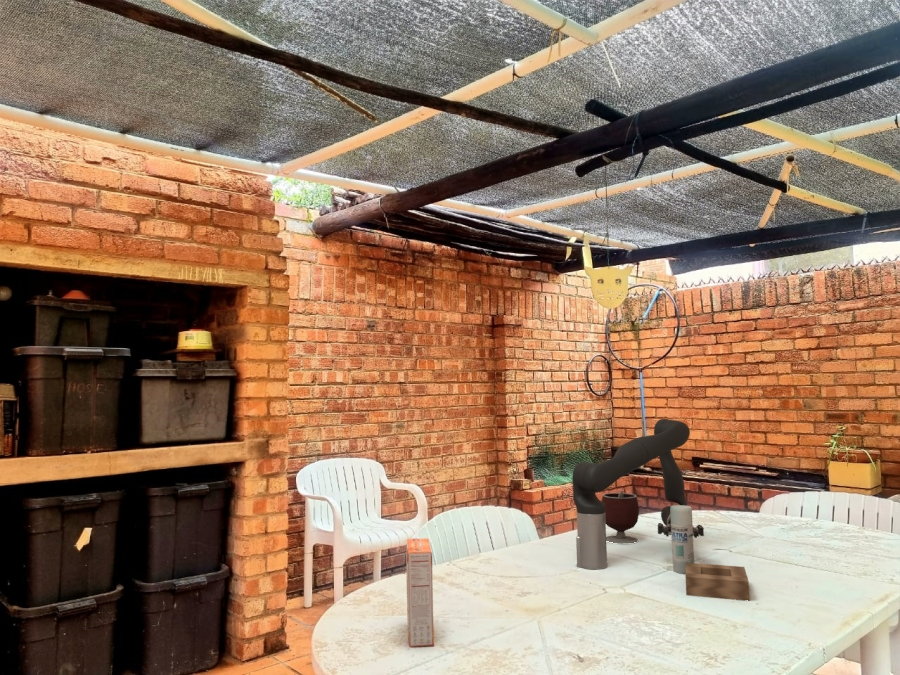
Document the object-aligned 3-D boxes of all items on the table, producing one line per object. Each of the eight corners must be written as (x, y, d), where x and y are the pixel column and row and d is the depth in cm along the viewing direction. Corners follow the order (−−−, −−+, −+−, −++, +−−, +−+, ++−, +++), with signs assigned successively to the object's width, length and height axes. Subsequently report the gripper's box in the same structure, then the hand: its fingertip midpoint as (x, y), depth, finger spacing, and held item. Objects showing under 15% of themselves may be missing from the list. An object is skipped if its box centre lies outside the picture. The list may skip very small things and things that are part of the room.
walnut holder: (686, 595, 177) (685, 576, 178) (686, 579, 192) (686, 562, 193) (749, 600, 172) (748, 581, 172) (745, 584, 187) (744, 566, 187)
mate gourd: (600, 536, 253) (599, 485, 255) (637, 537, 251) (635, 485, 253) (604, 545, 238) (602, 490, 240) (643, 546, 236) (641, 491, 238)
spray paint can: (669, 572, 201) (666, 507, 203) (678, 567, 206) (675, 504, 208) (689, 575, 196) (686, 509, 198) (698, 571, 201) (695, 506, 203)
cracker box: (406, 625, 156) (405, 538, 158) (430, 624, 157) (430, 537, 159) (407, 648, 142) (406, 551, 144) (434, 646, 143) (433, 550, 145)
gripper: (656, 512, 223) (657, 521, 207) (700, 514, 219) (704, 523, 203) (657, 534, 222) (658, 544, 206) (701, 536, 218) (705, 547, 202)
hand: (681, 533), depth 205 cm, fingers open, 8 cm apart
